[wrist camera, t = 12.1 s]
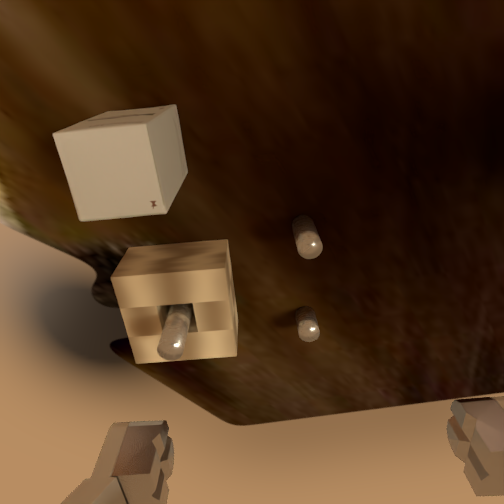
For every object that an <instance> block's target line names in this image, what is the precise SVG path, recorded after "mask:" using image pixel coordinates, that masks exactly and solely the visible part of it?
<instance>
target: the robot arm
mask: <svg viewBox="0 0 504 504" xmlns="http://www.w3.org/2000/svg"><path fill="white" fill-rule="evenodd" d="M451 411H452V413H453V416H452V417H451V418H450V419H449V420H448V424H447V434H448V440H449V443H450V445H451V448H452V450H453V452H454V454H455V456H456V457H458V458H459V459H460V460H462V461H463V462H464V463H465V467H464V473H465V475H466V477H467V479H468V481H469V483H470V485H471V486H472V488H473V490H474V492H475V494H476V496H497V495H498V496H499V495H504V396H502V397H491V398H490V397H484V398H471V399H459V400H454V401H453V402H452V405H451ZM168 430H169V427H168V424H167V421H165V420H163V421H140V422H121V423H113V424H112V425H111V427H110V428H109V431H108V433H107V436H106V438H105V441H104V444H103V446H102V449H101V452H100V454H99V457H98V460H97V463H96V465H95V468H94V471H93V473H92V476H91V478H90V479H85V480H84V481H83V482H82V483H81V484H80V485H79V486H78V487H77V488H76V489H75V490H74V491H73V492H72V493H71V494H70V495H69V496H68V497H67V498H66V499H65V500H64V501H63V502H62V503H61V504H166V503H167V497H168V492H169V489H168V486H167V482H166V480H167V479H168V478H169V477H170V476H171V474H172V470H173V464H174V448H173V442H172V439H171V438H170V437H169V436H167V435H168Z"/></svg>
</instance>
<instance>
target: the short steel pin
mask: <svg viewBox="0 0 504 504" xmlns="http://www.w3.org/2000/svg"><path fill="white" fill-rule="evenodd" d="M295 316H296V322H297V327H298V332H299V337H300V338H301V339H302V340H303V341H306V342H311V341H314V340H316V339H317V338H318V337H319V335H320V331H319V327H318V323H317V319H316V316H315V312H314V310H313V309H312V308H311V307H308V306H303V307H300V308H299V309H298V310H297V311H296V313H295Z"/></svg>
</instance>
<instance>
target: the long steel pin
mask: <svg viewBox="0 0 504 504" xmlns="http://www.w3.org/2000/svg"><path fill="white" fill-rule="evenodd" d="M192 311H193V303H186V304H173V305H171V306H170V309H169V312H168V315H167V319H166V322H165V325H164V328H163V331H162V334H161V338H160V341H159V344H158V347H157V352H158V354H159V356H160V357H162V358H163V359H165V360H170V361H173V360H177V359H179V358H180V357H181V356H182V355H183V351H184V347H185V342H186V338H187V333H188V329H189V325H190V320H191V316H192Z"/></svg>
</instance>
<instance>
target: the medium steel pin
mask: <svg viewBox="0 0 504 504" xmlns="http://www.w3.org/2000/svg"><path fill="white" fill-rule="evenodd" d="M292 230H293V234H294V238H295V242H296V245H297V249H298V253H299V254H300V256H301V257H303V258H305V259H313V258H316V257H317V256H319V255H320V253H321V252H322V249H323V245H322V242H321V240H320V237H319V235H318V232H317V230H316V227H315V225H314V222H313V220H312V218H311V217H309V216H307V215H299V216H297V217H296V218H295V219H294V220H293V222H292Z"/></svg>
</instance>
